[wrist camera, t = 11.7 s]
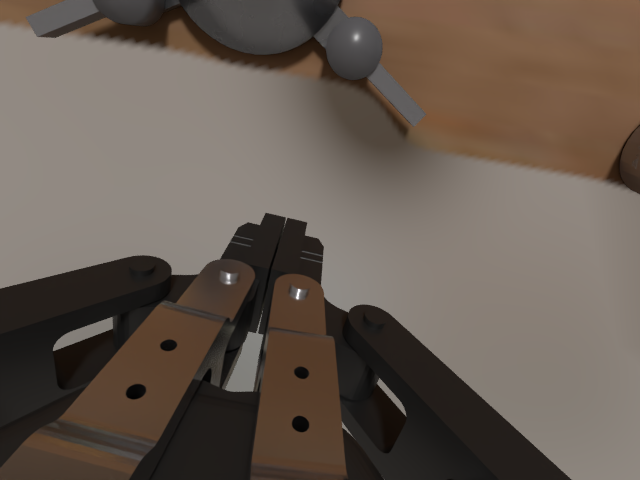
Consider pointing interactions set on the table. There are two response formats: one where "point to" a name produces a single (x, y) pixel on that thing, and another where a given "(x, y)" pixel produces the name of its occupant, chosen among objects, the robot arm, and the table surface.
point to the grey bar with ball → (367, 63)
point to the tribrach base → (263, 22)
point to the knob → (93, 15)
